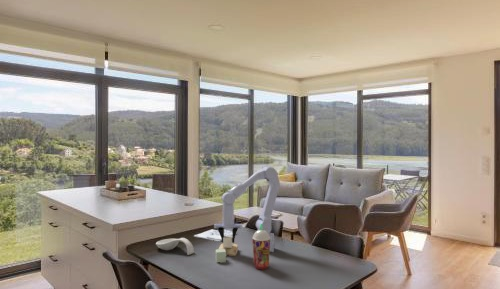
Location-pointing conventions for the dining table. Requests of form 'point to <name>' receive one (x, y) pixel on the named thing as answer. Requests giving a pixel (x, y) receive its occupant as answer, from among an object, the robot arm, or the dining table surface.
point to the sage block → (220, 255)
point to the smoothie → (261, 248)
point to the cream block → (227, 241)
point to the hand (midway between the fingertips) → (228, 242)
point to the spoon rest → (175, 244)
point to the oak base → (230, 250)
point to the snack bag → (213, 235)
